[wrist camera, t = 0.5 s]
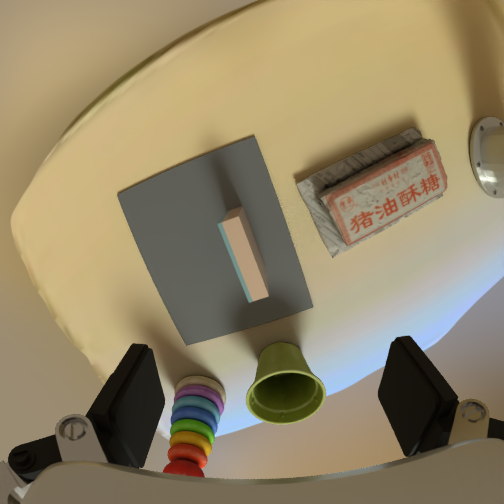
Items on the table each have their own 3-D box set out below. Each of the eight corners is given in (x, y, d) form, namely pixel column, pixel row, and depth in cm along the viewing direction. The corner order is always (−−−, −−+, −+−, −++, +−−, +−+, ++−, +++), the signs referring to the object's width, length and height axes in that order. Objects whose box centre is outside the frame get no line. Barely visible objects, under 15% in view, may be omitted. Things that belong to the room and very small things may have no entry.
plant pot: (291, 318, 37) (300, 357, 29) (325, 362, 39) (338, 402, 31) (234, 352, 39) (229, 394, 30) (271, 391, 41) (274, 433, 32)
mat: (254, 136, 31) (254, 136, 31) (313, 306, 37) (313, 307, 36) (117, 194, 33) (116, 194, 33) (186, 344, 38) (186, 345, 38)
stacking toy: (166, 385, 41) (131, 480, 23) (202, 365, 39) (177, 471, 21) (199, 414, 42) (180, 507, 24) (237, 396, 41) (229, 499, 23)
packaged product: (431, 121, 26) (459, 198, 28) (412, 125, 30) (438, 194, 33) (299, 185, 28) (339, 268, 31) (293, 183, 33) (329, 256, 35)
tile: (242, 205, 33) (238, 216, 25) (265, 268, 35) (268, 296, 27) (226, 211, 33) (217, 223, 25) (250, 274, 35) (248, 302, 27)
